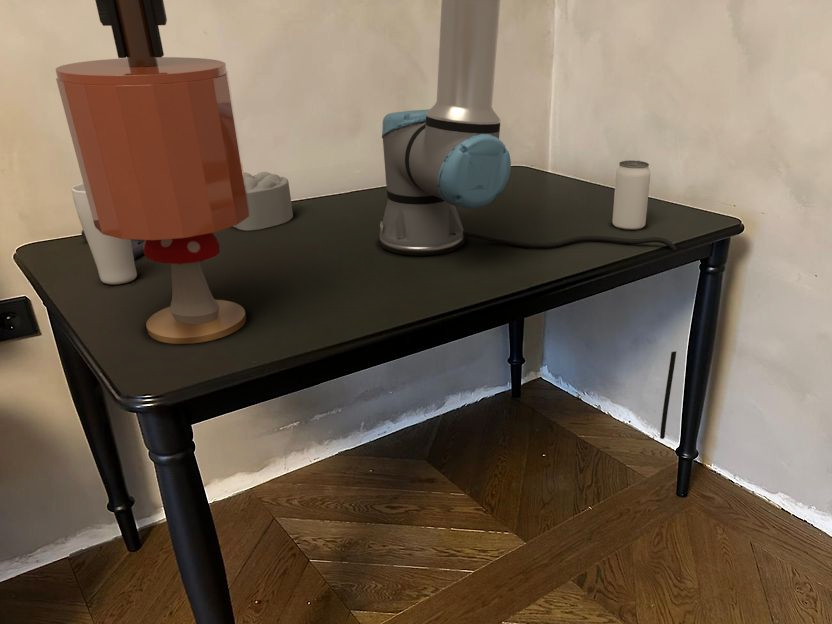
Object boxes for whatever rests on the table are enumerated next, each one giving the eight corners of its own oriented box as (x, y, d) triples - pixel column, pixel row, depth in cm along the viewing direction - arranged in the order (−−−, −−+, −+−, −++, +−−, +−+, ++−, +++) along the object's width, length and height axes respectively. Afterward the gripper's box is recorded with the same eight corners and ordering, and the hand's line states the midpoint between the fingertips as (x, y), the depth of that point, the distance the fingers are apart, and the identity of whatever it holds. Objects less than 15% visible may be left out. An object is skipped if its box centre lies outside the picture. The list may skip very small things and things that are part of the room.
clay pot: (249, 194, 109) (216, -17, 96) (248, 233, 94) (208, -13, 81) (109, 203, 105) (54, -18, 92) (83, 245, 89) (12, -14, 76)
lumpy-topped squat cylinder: (218, 221, 148) (209, 177, 144) (274, 207, 157) (268, 165, 153) (248, 232, 142) (241, 186, 138) (305, 217, 151) (300, 173, 147)
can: (630, 232, 145) (636, 169, 139) (605, 224, 149) (609, 163, 143) (652, 226, 148) (658, 164, 143) (627, 218, 153) (632, 158, 147)
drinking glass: (96, 290, 117) (70, 193, 109) (95, 276, 122) (70, 183, 115) (144, 283, 119) (122, 188, 112) (141, 269, 125) (119, 178, 117)
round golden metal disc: (246, 301, 114) (245, 295, 113) (245, 338, 103) (244, 331, 102) (153, 310, 110) (151, 304, 110) (142, 349, 99) (140, 342, 99)
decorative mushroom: (145, 325, 103) (118, 218, 96) (183, 302, 111) (160, 200, 103) (210, 333, 101) (188, 224, 94) (244, 308, 109) (226, 205, 101)
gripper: (-10, -201, 73) (58, 61, 85) (171, -190, 77) (212, 58, 89) (11, -188, 80) (72, 54, 91) (177, -179, 84) (215, 52, 95)
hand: (141, 56), depth 90 cm, fingers closed on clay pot, 3 cm apart
